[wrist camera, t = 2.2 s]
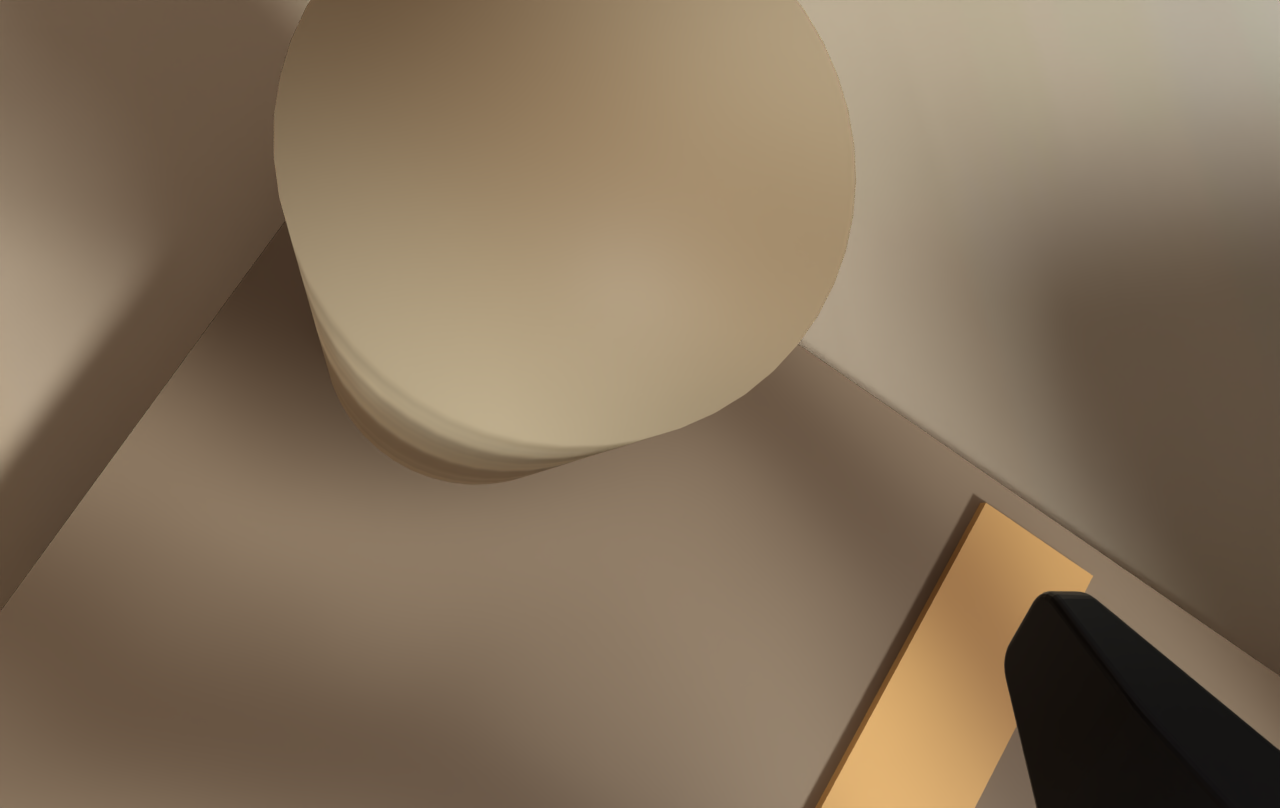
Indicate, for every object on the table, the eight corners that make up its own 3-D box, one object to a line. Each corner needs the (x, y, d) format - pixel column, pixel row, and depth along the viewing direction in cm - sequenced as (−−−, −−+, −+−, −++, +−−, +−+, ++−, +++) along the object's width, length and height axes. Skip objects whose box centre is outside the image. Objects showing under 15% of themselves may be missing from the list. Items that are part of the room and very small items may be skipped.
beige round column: (497, 539, 18) (671, 559, 8) (279, 400, 18) (141, 216, 7) (629, 332, 19) (950, 94, 9) (424, 194, 19) (493, -243, 8)
